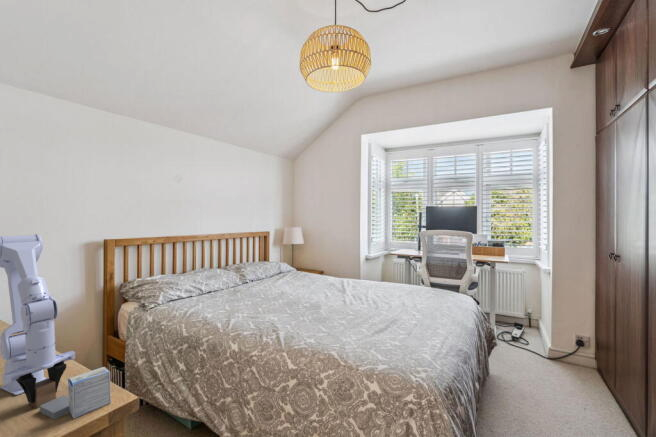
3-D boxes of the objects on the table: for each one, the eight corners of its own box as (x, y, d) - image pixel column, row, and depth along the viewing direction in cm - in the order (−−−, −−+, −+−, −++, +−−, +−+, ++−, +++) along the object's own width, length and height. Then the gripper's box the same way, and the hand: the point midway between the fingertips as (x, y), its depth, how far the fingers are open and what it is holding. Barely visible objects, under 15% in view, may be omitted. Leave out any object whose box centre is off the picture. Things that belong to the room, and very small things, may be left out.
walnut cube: (29, 404, 82) (28, 385, 82) (48, 396, 86) (47, 378, 86) (37, 408, 81) (36, 389, 81) (55, 399, 84) (55, 381, 84)
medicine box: (105, 397, 85) (104, 365, 85) (111, 403, 82) (110, 370, 82) (68, 412, 79) (67, 378, 79) (73, 419, 76) (72, 383, 76)
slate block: (39, 413, 79) (39, 405, 79) (63, 402, 84) (63, 395, 84) (54, 421, 76) (54, 413, 76) (78, 409, 81) (77, 401, 81)
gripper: (11, 360, 75) (13, 417, 75) (80, 338, 88) (82, 386, 88) (-3, 355, 78) (-1, 409, 78) (66, 334, 91) (68, 381, 91)
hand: (42, 397), depth 83 cm, fingers closed on walnut cube, 4 cm apart
